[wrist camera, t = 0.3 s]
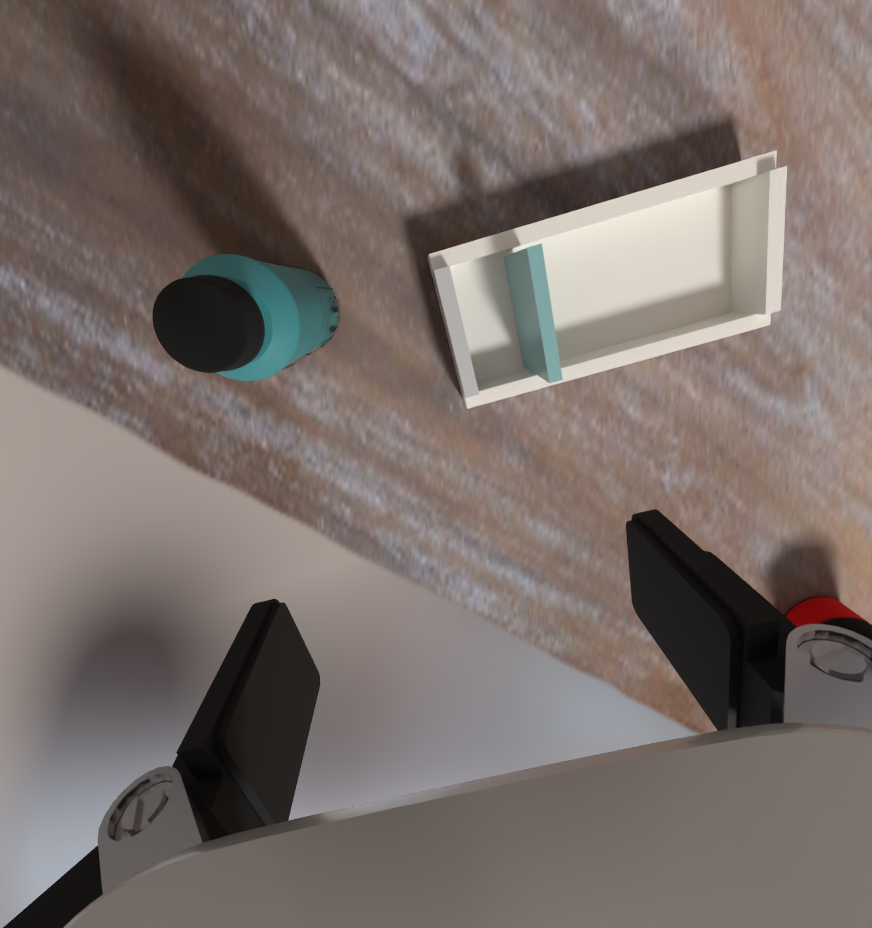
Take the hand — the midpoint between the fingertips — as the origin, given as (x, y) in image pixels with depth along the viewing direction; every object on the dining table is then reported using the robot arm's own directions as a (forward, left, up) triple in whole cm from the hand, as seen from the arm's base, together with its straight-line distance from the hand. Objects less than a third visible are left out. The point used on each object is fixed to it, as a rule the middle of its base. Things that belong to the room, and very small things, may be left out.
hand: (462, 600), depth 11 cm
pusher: (-4, +9, -29) cm, 31 cm away
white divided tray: (-4, +16, -30) cm, 34 cm away
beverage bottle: (-9, -8, -30) cm, 32 cm away
